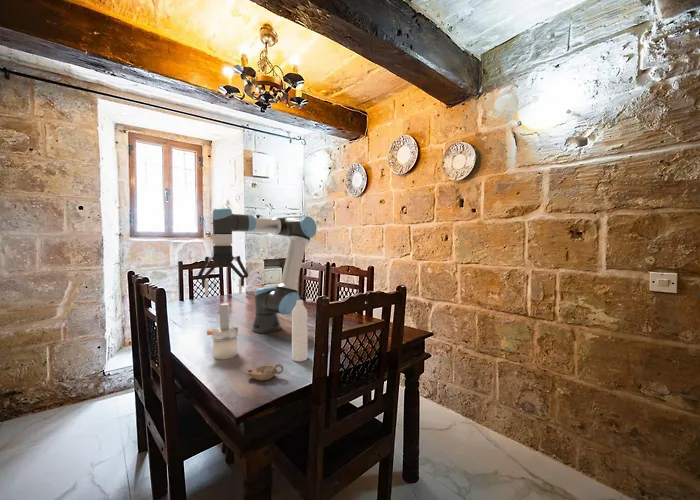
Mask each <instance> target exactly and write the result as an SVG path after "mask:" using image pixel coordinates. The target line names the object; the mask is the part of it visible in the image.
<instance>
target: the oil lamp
mask: <svg viewBox="0 0 700 500" xmlns="http://www.w3.org/2000/svg"><path fill="white" fill-rule="evenodd" d="M278 367H280V369H281V370H280V371H278V370H277V368H278ZM283 371H284V366H283V365H282V364H281V363H278V364H276V365H275V366H272V365H262V366H256V368H250V369H248V370H246V376H247V377H248V378H251V379H253V380H257V381H269V380H271V379H272V378H273V377H274V376H275V375H280V374H282V373H283Z"/></svg>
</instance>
